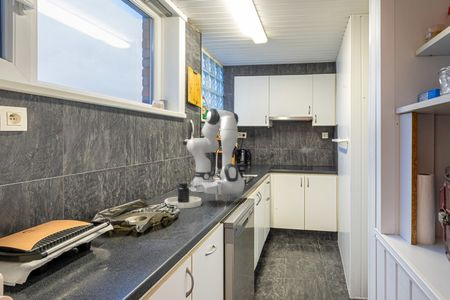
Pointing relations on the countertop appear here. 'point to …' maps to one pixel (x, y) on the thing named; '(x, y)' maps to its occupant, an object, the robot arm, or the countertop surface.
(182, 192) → the supplement bottle
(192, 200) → the ceramic bowl
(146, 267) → the countertop surface
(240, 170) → the french press
